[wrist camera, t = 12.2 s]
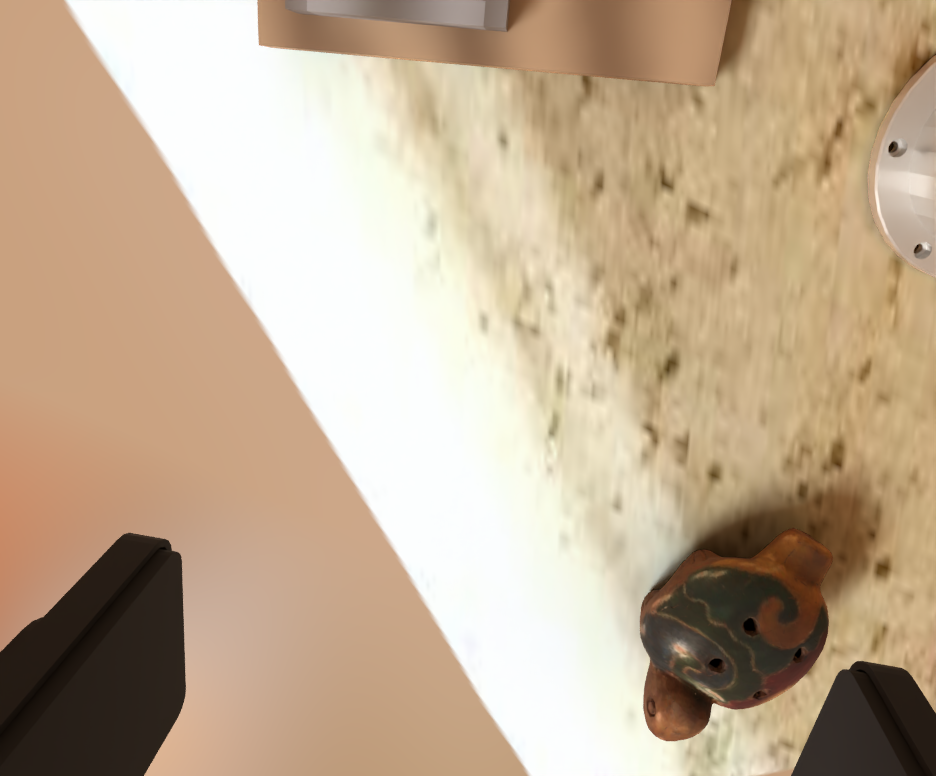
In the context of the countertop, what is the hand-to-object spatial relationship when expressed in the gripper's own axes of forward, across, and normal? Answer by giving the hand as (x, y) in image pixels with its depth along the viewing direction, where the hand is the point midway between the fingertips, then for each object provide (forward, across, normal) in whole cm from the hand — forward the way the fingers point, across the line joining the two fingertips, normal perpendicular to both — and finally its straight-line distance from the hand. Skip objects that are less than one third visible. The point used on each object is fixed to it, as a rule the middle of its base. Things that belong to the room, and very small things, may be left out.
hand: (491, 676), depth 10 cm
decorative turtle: (+32, -16, +20) cm, 41 cm away
